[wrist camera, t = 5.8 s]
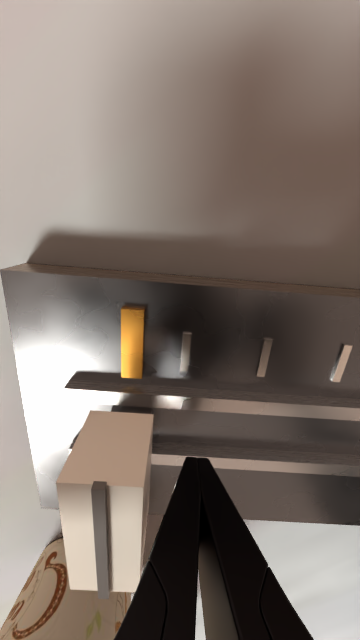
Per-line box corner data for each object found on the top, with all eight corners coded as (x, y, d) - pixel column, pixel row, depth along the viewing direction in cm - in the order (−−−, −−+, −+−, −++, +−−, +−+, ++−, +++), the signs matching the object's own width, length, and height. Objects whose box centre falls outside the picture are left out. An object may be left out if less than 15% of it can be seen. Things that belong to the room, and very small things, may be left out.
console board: (493, 300, 10) (565, 318, 9) (386, 499, 15) (418, 541, 13) (25, 263, 10) (-13, 273, 8) (54, 480, 14) (34, 521, 12)
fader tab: (158, 377, 10) (142, 492, 6) (154, 461, 12) (138, 600, 7) (107, 373, 10) (52, 487, 6) (109, 459, 12) (68, 597, 7)
